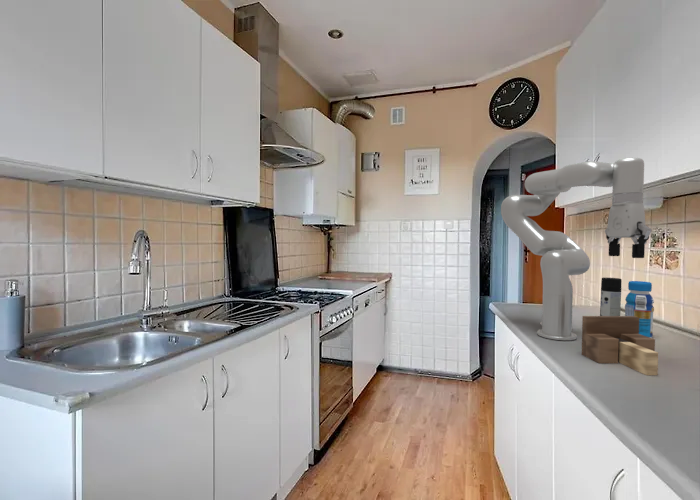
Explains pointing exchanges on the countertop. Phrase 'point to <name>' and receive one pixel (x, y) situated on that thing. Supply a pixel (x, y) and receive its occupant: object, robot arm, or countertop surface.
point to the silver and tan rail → (638, 357)
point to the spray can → (610, 297)
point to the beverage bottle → (641, 305)
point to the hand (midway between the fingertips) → (625, 256)
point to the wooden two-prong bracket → (610, 336)
